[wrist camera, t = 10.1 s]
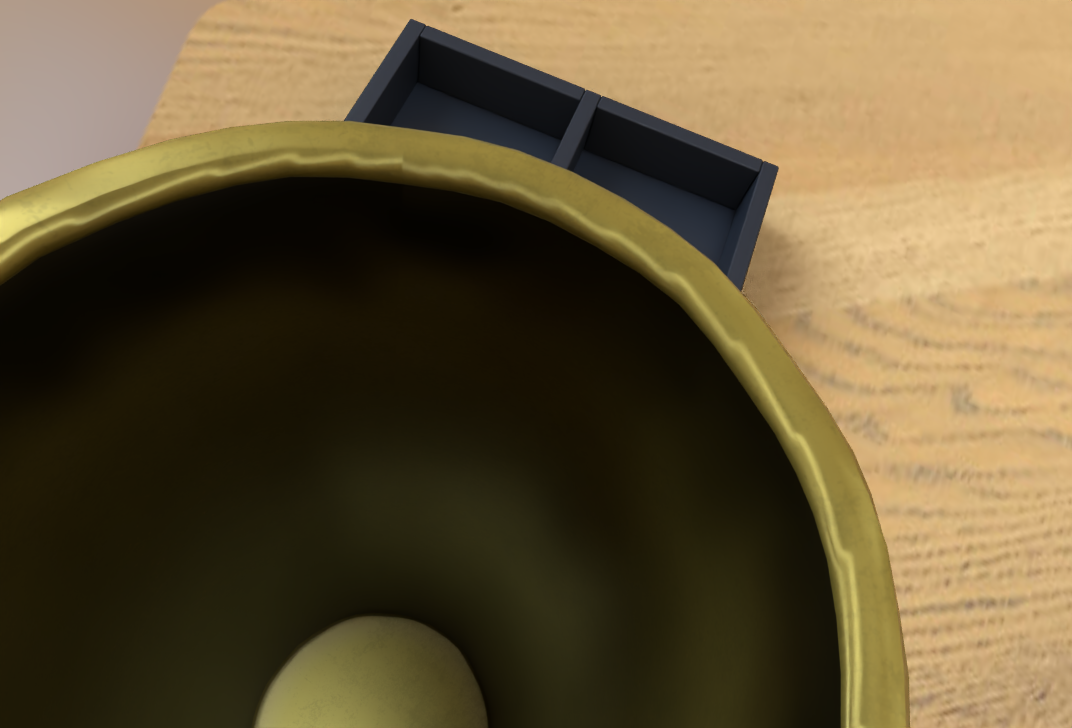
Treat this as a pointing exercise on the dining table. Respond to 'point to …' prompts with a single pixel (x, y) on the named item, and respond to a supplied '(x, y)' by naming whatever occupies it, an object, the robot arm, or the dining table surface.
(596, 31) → the dining table surface
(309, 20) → the dining table surface
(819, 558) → the vase
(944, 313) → the dining table surface
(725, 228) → the grid
